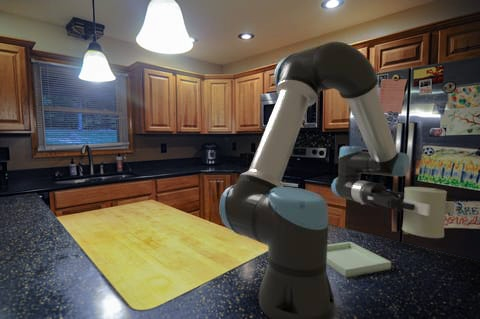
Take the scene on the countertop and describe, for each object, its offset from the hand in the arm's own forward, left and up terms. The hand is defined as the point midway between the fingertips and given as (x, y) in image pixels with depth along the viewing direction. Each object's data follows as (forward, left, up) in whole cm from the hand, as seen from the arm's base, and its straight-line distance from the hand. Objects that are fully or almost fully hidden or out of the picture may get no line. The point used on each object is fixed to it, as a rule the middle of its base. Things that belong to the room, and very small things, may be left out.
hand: (442, 209), depth 64 cm
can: (0, +5, -8) cm, 9 cm away
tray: (-15, +14, -17) cm, 27 cm away
